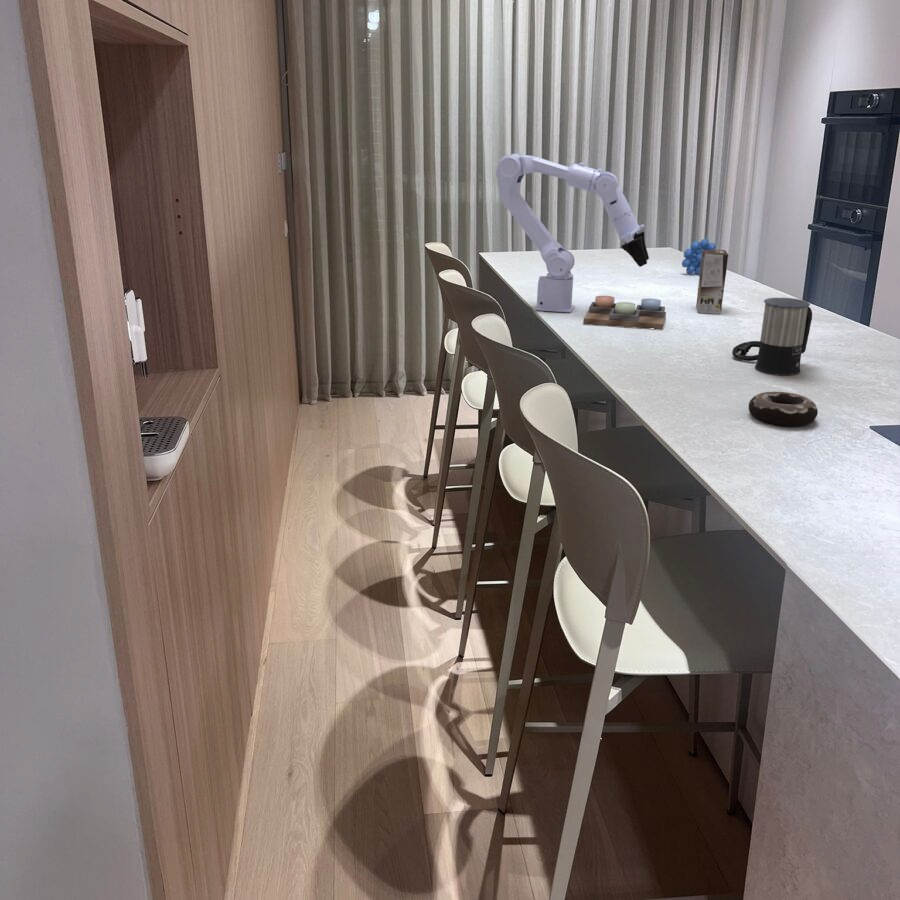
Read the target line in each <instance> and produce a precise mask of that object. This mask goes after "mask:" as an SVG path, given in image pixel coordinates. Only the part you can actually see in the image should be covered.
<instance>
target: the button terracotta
mask: <svg viewBox="0 0 900 900" xmlns="http://www.w3.org/2000/svg"><path fill="white" fill-rule="evenodd" d="M594 302H595V307H605V308H613V307H614V303H615V297H614V296H612V295H596V296H595V300H594Z"/></svg>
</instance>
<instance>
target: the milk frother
mask: <svg viewBox="0 0 900 900" xmlns="http://www.w3.org/2000/svg"><path fill="white" fill-rule="evenodd" d="M763 302H764V309H763V311H764V312H763V318H762V326H761V331H760V332H761V333H760V334H761V335H760V339H759V341H758V340H750V341H745V342H742V343H739V344H737V345H735V346H734V347H733V348H732V352H731V354H732V356H733V357H734V358H735V359H738V360H740V361H745V362H754V361H756V364H755V365H754V368H755V370H757V371H759V372H762V373H764V374H768V375H769V374H770V375H777V376H793V375H798V374H799V373H800V372H801V357H802V354H804V353H805V352H806V349H807V344H808V339H809V335H810V331H811V326H812V325H811V324H812V321H813V310H812V308H811V307H810V306H811V303H810V301H807V300H804V299H800V298H793V297H770V298H766V299H764V300H763ZM752 348H758V353H757V354H755V355H747V354H748V353H749V352H750V349H752Z"/></svg>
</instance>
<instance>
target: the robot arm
mask: <svg viewBox="0 0 900 900" xmlns="http://www.w3.org/2000/svg"><path fill="white" fill-rule="evenodd" d="M533 173H539V174H543V175H546V176H551V177H555V178H559V179H564V180H565V181H566V184H567V185H568V186H569V187H573V188H575V189H579V190H583V191H587V192H589V193H592V192H594V193H595V194H596V195H597V196H598V197H600V198H601V201H602V204H603V205H604V206H603V207H604V209H605V211H606V213H607V215H608V217H609V219H610V221H611V223H612V225H613V228H614V229H615V231H616V233H617V235H618V239H619V240H624V243H623V244H622V245H621V246H620V247H621V249H622V250H624V251H625V252H626V253H627V254H629V256H631V258H632V259H633V261H634V262H635V263H636V265H637V266H638V267H640V268H642V267H643V266H645V265H647V264H648V260H650V256H649V252H648V250H647V245H646V242H645V239H646V237H645V231H640V230H641V229H643V228H644V227H645V225H644V223H642V224H641V225H639V223H638V221H637V219H636V217H635V215H634V213H633V211H632V208H631V206H630V204H629V202H628V201H627V197H626V196H625V195H624V194H623V191H622V189H621V188H620V186H619V180H618V176H616V175H615V174H614V173H612V172H610V171H604V172H603V169H602V168H598V169H595V168H593V167H592V168H591V167H589V166H586V164H585V163H584V162H579V163H574V164H572V165H570V166H566V165H563V164H560V163H557V162H554V161H551V160H547V159H545V158H541V157H538V156H534V155H529V154H528V155H527V154H521V153H516V152H515V153H511V154H506V155H503V156H502V157H501V158H500V159H499V161H498V163H497V167H496V170H495V177H496V179H497V188H498V196H499V199H500V201H501V202H502V204H503V205H504V206H505V207H506V209H507V210H508V211H509V213H510V214H511V215H512V217H513V218H514V219H515V220H516V222H517V224H519V227H521V229H522V230H523V231H524V232H525V234H526V235H527V236H528V237H529V239H530V240H531V241H532V243H533V244H534V246H535V247H536V248H537V250H538V251H539V253H540V256H541V259H542V260H543V262H544V263H545V265H546V270H547V274H546V275H545V276H544V275H541V276H539V277H538V281H537V291H536V292H537V293H536V295H537V297H536V309H535V310H536V311H540V312H541V311H543V312H557V313H558V312H559V313H571V312H572V311H573V310H574V309H575V305H573V304H572V303H573V302H572V301H573V287H574V275H573V273H572V271H571V270H572V269H573V268H574V265H575V257H574V255H573V254H572V252H571V251H569V250H567V249H565V248H564V247H563V245H561V244H560V243H559V242H558V241H557V240H555V237H553V236H552V234H551V233H550V232H549V230H548V229H547V228H546V226H545V224H543V222H542V221H541V220H540V218H539V217H538V216H537V214H536V213H535V211H533V209H532V208H531V206H530V205H529V204H528V202H526V200H525V199H524V197H523V196H522V195H521V193H520V191H521V185H522V180H523V178H524V176H525V175H528V174H533ZM638 231H640V232H638Z"/></svg>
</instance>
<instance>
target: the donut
mask: <svg viewBox="0 0 900 900" xmlns="http://www.w3.org/2000/svg"><path fill="white" fill-rule="evenodd" d="M818 411H819V410H818V408H817V404H816V403H815V402H814V401H813V400H812V399H811V398H809V397H807V396H804V395H800V394H798V393H793V392H787V391H765V392H761V393H757V394H756V395H754V396H753V397H752V398H751V399H750V400H749V402H748V412H749V414H750V415H751V417H753V419H755V420H757V421H759V422H760V423H763V424H766V425H770V426H774V427H780V428H801V427H805V426H808V425H811V424H812V423H813V422H814V421H815V420H816V419H817V416H818Z"/></svg>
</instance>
